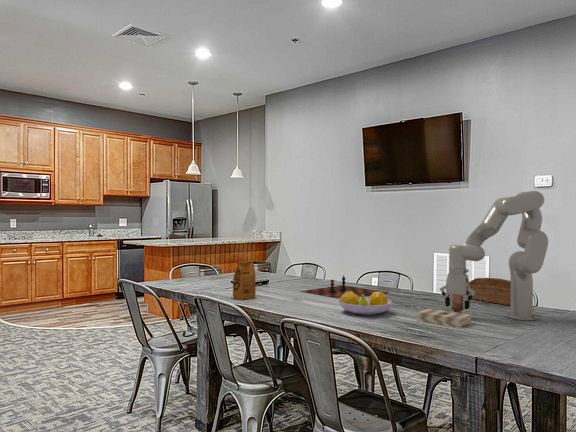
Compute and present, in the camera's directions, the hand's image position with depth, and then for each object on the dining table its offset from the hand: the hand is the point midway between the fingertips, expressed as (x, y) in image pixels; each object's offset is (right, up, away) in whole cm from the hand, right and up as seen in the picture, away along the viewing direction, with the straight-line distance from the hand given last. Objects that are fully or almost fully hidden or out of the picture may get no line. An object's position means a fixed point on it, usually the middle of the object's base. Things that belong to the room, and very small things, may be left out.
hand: (457, 307), depth 223 cm
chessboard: (-45, -6, +76) cm, 88 cm away
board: (-10, -5, -10) cm, 15 cm away
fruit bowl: (-42, -5, +11) cm, 44 cm away
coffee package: (-106, -5, +51) cm, 118 cm away
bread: (+37, -6, +42) cm, 57 cm away
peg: (0, -5, 0) cm, 5 cm away
